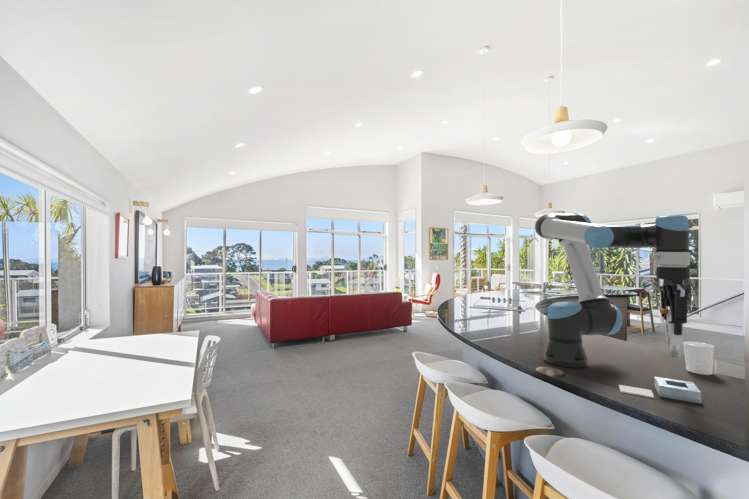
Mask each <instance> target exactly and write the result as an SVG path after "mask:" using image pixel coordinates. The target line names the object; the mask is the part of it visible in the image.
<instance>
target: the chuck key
mask: <svg viewBox="0 0 749 499" xmlns="http://www.w3.org/2000/svg"><path fill="white" fill-rule="evenodd" d="M659 313H660V314H662V313H666V314H667V342H666V350H667V351H666V352H667V354H666V355H667V357H670V358H677V359H680V358H682V356H681V355H682V353H681V352H682V351H681V349H682V348H681V347H682V346H676V345H670V323H669V322H668V321H672V320H671V308H670V306H666V309H661V308H659Z"/></svg>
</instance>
